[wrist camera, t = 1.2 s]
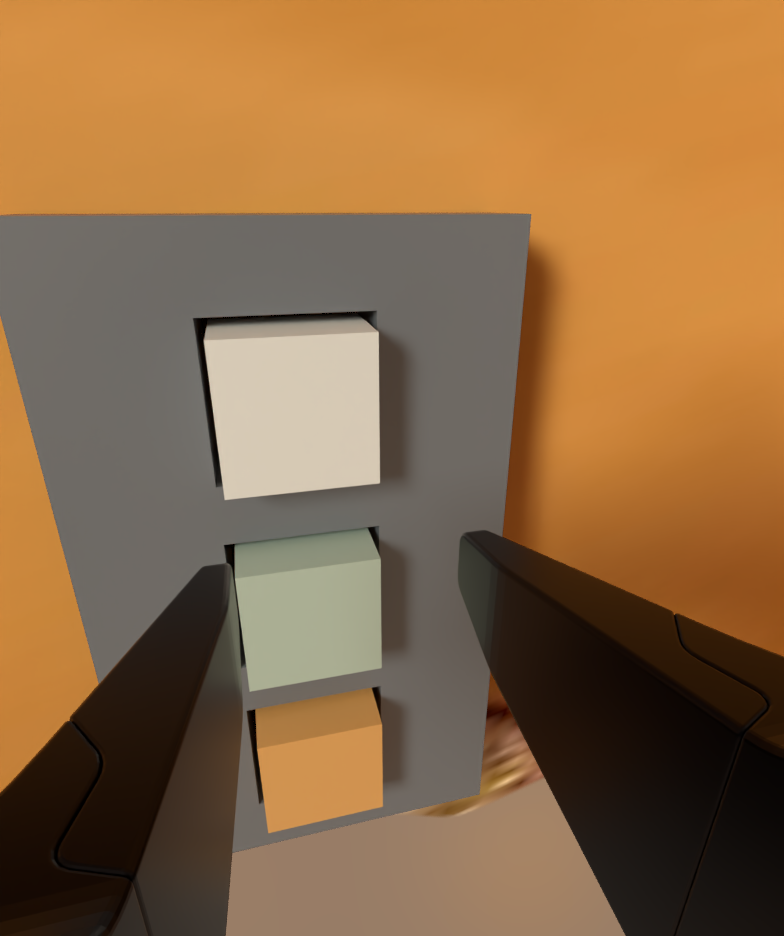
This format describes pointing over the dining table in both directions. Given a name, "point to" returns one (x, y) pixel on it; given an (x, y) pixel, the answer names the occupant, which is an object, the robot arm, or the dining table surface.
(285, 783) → the orange button
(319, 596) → the sage button
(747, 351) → the dining table surface
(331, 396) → the off white button
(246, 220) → the panel
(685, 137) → the dining table surface
